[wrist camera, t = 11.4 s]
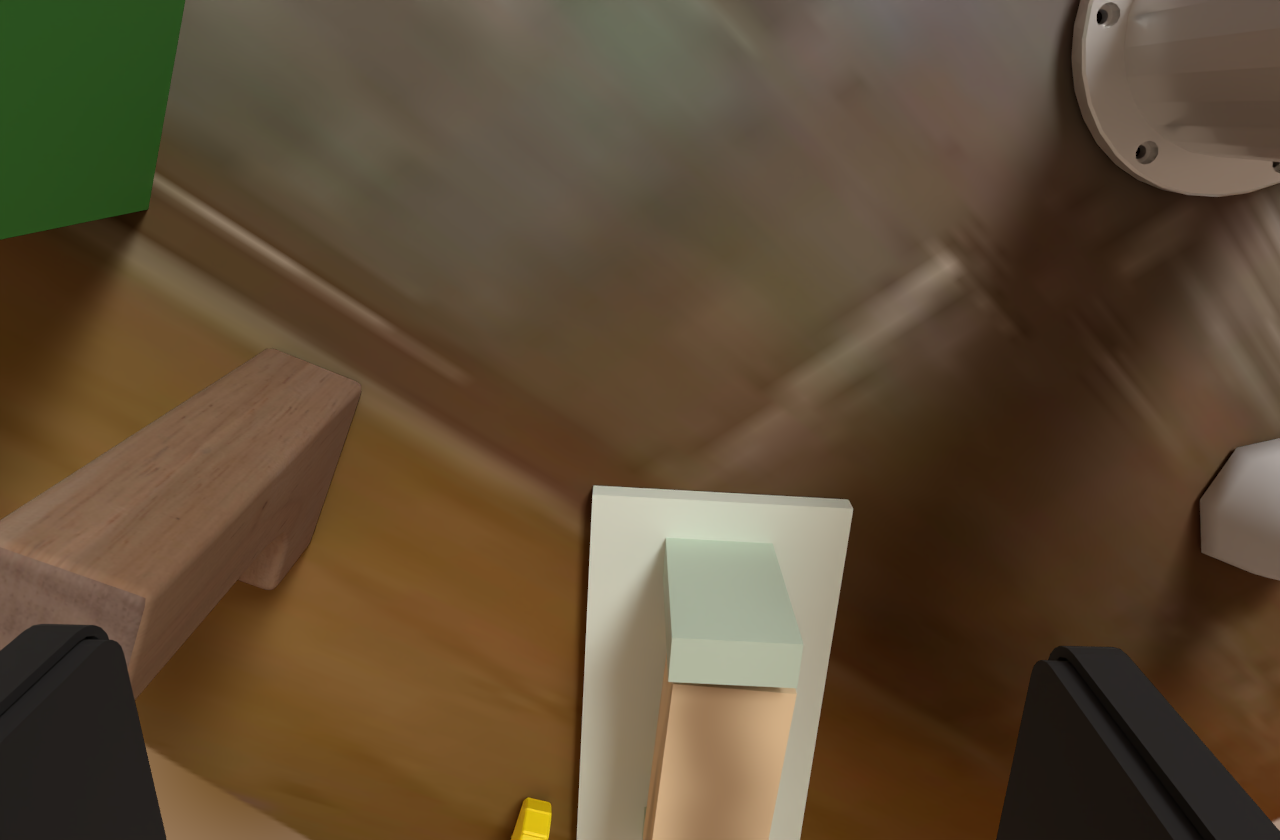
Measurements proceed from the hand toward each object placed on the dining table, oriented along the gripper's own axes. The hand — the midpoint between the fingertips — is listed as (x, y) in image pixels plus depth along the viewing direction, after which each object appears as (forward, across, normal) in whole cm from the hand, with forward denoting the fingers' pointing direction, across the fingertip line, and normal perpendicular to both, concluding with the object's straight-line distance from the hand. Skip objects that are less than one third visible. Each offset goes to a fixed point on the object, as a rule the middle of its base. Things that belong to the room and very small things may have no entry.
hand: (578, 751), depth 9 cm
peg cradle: (+29, -4, +22) cm, 37 cm away
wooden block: (+29, +16, +9) cm, 34 cm away
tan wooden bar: (+25, -4, +22) cm, 33 cm away
